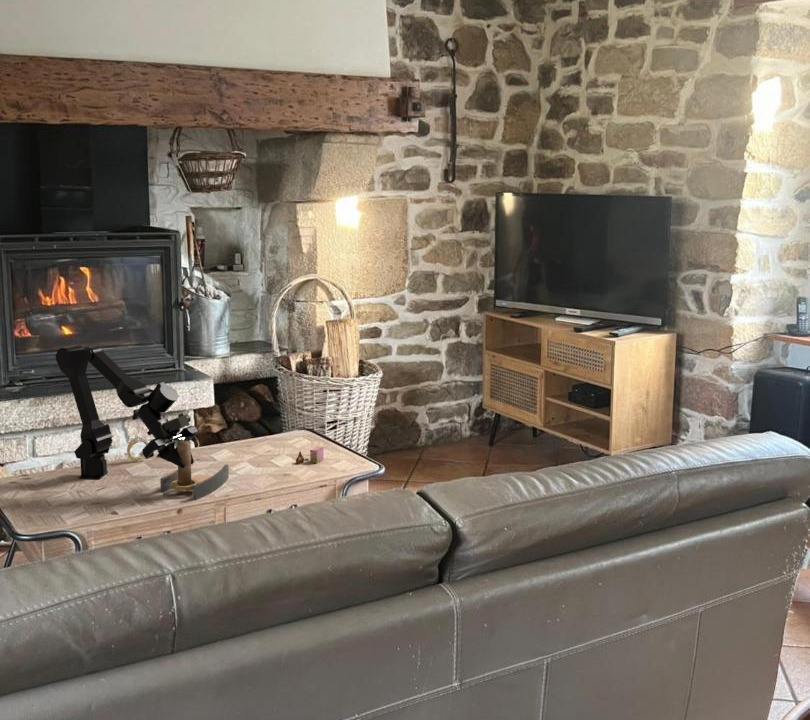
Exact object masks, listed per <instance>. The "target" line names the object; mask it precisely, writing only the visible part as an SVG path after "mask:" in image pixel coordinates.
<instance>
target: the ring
mask: <svg viewBox="0 0 810 720" xmlns="http://www.w3.org/2000/svg"><path fill="white" fill-rule="evenodd" d="M140 442H141V443H143V444H144V445H145V446H146V445H147V444H148V443H149V442H148V441H147V440H146V439H143V436H141V437H140V436H138V435H136V436H135V437H133V438H132V439H130V441H129V442H128V444H127V446H126V452H127V456H128V457H129V459H130V460H132V461H134V462H139V463H140V462H141V461H143V460H145V459H146V458H145V457H144V455H143V456H142V457H137V458H135V457H132V454H131V450H132V447H133V446H134V445H136V444H137V443H140Z"/></svg>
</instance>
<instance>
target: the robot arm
mask: <svg viewBox="0 0 810 720" xmlns="http://www.w3.org/2000/svg"><path fill="white" fill-rule="evenodd" d="M55 361H56V363H57V365H58V367H59V370H60V371H61V373H63V375H65V376H66V377H67V379H68V380H69V384H70V388H71V391H72V394H73V397H74V400H75V403H76V404H75V405H76V407H77V408H76V409H77V411H78V414H79V418H80V421H81V424H82V425H81V426H82V427H81V430H80V442H81V443H80V445H78V447H76V449H74V455H75V457H76V459H79V461H80V475H78V479H89V478H92V479H95V480H100V479H102V478H103V477H104V476H106V475H107V474H108V473H109V472H108V463H107V459H106V454H108V453H109V451H110V447H111V446H112V444H113V437H114V435H113V434H112V432H111V431H112V430H111V427H110V425H109V423H107V424H104V423H103V422H102V421H101V420H100V417H99V413H98V411H97V407H96V406H97V405H96V404H95V401H94V396H93V393H92V390H91V386H90V384H89V380H88V376H87V369H88V364H90V365H91V366H92V367H94V368H95V369H96V371H98V372H99V373H100V374H101V375H102V376H103V377H104V378H105V379H106V380H107V382H109V383H110V384H111V385H112V386H113V387H114V389H115V390H116V395H117V397H118V398H119V400H120V401H121V402H122V404H123V405H124V406H125V407H126V408H134V407H138V406H140V407H139V408H136V409H134V410H133V411H132V412H133V414H132V418H131V419H132V421H135V420H138V419H140V420H141V422H142V424H144V426H145V427H146V428H147V430H148V431H147V435H148V436H153V438H154V439H153V438H152V439H151V440H150V441H149V442H148V444H147V445H145V446H144V447H143V448H142V455H143V456H144V457H145V459H146V460H148V459H151V458H154V456H155V453H154V452H157V453H158V454H157V455H156V458H159V459H162V460H165V461H167V462H169V463H172V464H173V465H175V466H177V467H178V466H179V467H181V468H184V467H185V464H184V462H183V461H182V459H181V458H180V456H179V455H178V450H177V442H179V441H190V442H191V441H192V439H193V438H194V437H196V435H197V434H199V430H198V428H197V427H196V426H195V425H191V424H190V422H191V421H192V419H191V416H190V414H189V413H187V412H186V411H183V412H181V413H178V414H177V417H176V418H173V419H172V418H171V417H169V416H167V417H165V415H164V414H163V413H165V412H167V411H168V410H169V409H170V408H171V407H172V406H173V405H174V404H175V402H177V400H178V399H179V393H178V391H177V389H176V388H173V386H171V385H168V384H166V383H165V382H164V381H161V382H158V383H157V384H156V385H155V387H154V388H153V389H152V388H149V387H148V386H147V385H145V384H144V383H143V382H142V381H140V380H138V379H136V378H133V377H131V376H129V375H128V374H127V373H125V371H124V370H123V369H122V368H121V367H120V366H119V365H118V364H117V363H115V362H114V360H113V359H111V358H110V356H108V354H106V352H104V350H103V348H102V347H101V346H98V345H96V346H81V345H80V344H74V345H73V344H72V345H67V346H64V347H60V348H59V349H58V350H57V352H56V354H55ZM182 428H183V429H182ZM194 463H195V461H194V457H193V454H192V453H191V465H193V464H194ZM92 479H91V480H92Z"/></svg>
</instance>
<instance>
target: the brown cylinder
mask: <svg viewBox="0 0 810 720" xmlns="http://www.w3.org/2000/svg"><path fill="white" fill-rule="evenodd" d="M191 448H192V447H191V440H190V441H179V442H177V450H178V455H179V456H180V458H181V459H182V461H183V462H184V464H185V467H184V468H181V467H179V466H177V470H178V480H174V481H173V482H172V483H171V489H170V490H173V491H176V492H190V491H193V485H195V484H198V483H199V481H197V480H195V479H192V464H191V454H192V450H191Z"/></svg>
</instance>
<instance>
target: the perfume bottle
mask: <svg viewBox="0 0 810 720" xmlns="http://www.w3.org/2000/svg"><path fill="white" fill-rule="evenodd" d="M309 451H310V453H309V457H310V458H309V457H304V456H303V454H302V451H301V450H300V451H299V452H298V455H297V458H296V459H295V463H296V464H297V465H301V464H303V463H305V461H310V462H312V463H311V464H316V463H317V464H319V463H321V462H323V461H324V460H323V459H324V458H325V457H324V456H325V455H324V447H323V446H315V447H313V448H311V449H310V450H309ZM309 459H310V460H309ZM322 460H323V461H322ZM320 461H321V462H320ZM310 462H309V463H310ZM318 462H319V463H318ZM300 463H301V464H300Z"/></svg>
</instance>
